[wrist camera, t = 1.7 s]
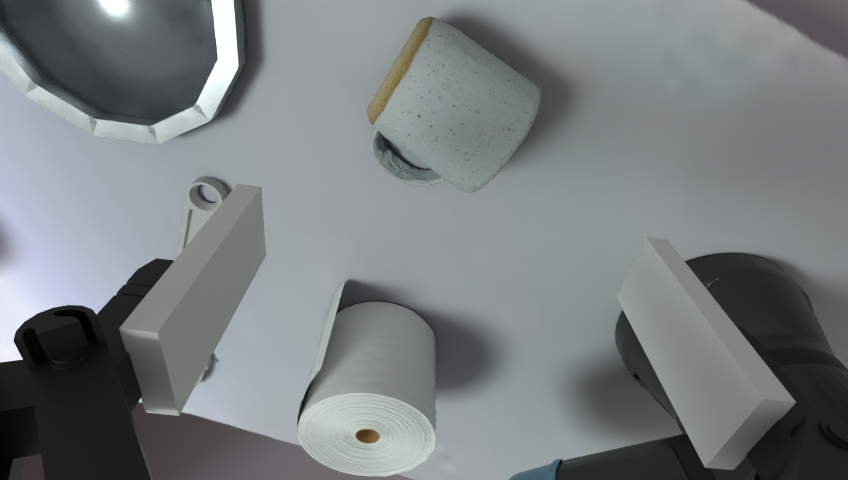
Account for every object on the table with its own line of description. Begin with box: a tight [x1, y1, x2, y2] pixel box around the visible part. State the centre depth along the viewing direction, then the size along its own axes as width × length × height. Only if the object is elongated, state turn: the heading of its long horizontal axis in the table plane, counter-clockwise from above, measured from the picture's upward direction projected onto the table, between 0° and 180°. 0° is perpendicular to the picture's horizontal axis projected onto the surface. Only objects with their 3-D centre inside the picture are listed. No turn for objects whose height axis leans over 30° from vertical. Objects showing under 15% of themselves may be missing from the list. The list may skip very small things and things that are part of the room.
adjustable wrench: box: [176, 176, 227, 388], centre depth 40 cm, size 25×6×2 cm, turn 151°
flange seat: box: [0, 0, 246, 144], centre depth 27 cm, size 16×16×2 cm
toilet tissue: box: [297, 283, 436, 476], centre depth 39 cm, size 11×12×10 cm
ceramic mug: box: [367, 17, 541, 193], centre depth 28 cm, size 11×8×8 cm
